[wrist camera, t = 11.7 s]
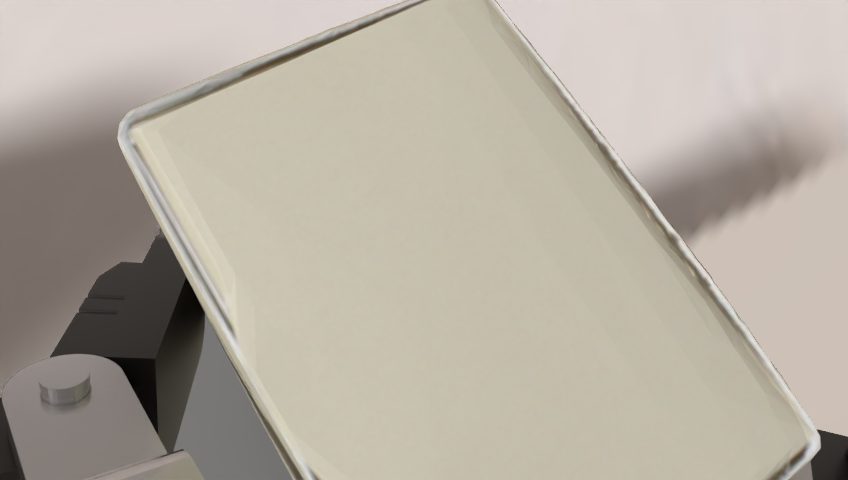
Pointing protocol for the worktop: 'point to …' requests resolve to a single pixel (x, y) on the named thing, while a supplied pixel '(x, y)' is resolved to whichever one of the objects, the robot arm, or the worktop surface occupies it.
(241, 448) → the rubber mat
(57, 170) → the worktop surface
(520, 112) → the skincare box
